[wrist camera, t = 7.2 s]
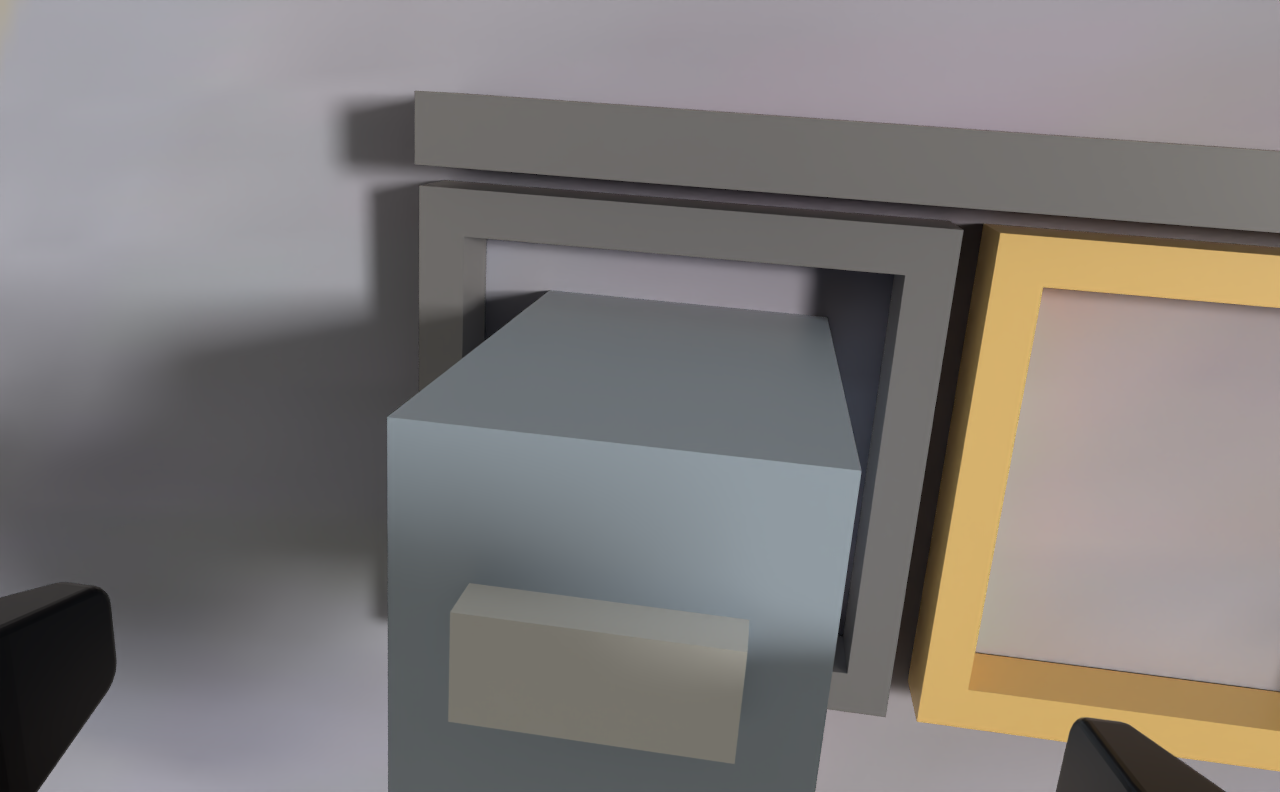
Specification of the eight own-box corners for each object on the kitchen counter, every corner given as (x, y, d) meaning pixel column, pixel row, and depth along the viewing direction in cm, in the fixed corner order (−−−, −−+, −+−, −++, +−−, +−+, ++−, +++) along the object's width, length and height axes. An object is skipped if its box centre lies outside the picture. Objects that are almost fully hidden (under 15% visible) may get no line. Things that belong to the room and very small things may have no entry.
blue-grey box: (794, 573, 17) (804, 918, 10) (538, 541, 17) (366, 847, 10) (827, 317, 16) (867, 495, 8) (549, 289, 16) (362, 436, 9)
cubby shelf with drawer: (1396, 745, 16) (1468, 820, 15) (441, 618, 18) (405, 671, 16) (1589, 172, 14) (1705, 181, 12) (446, 92, 15) (404, 89, 14)
